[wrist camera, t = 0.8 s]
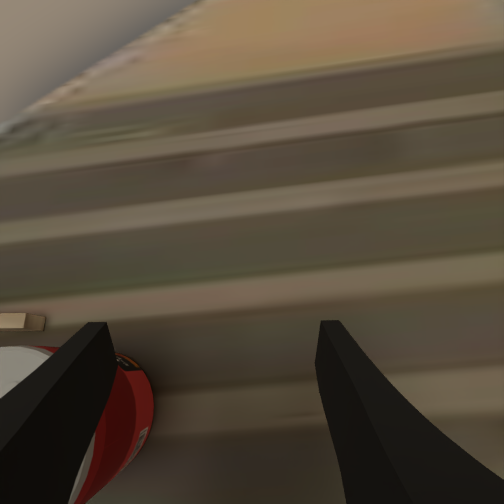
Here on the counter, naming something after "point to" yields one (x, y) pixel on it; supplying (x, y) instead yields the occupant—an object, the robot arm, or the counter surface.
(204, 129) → the counter surface
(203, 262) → the counter surface
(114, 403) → the canned food
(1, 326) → the bracket
